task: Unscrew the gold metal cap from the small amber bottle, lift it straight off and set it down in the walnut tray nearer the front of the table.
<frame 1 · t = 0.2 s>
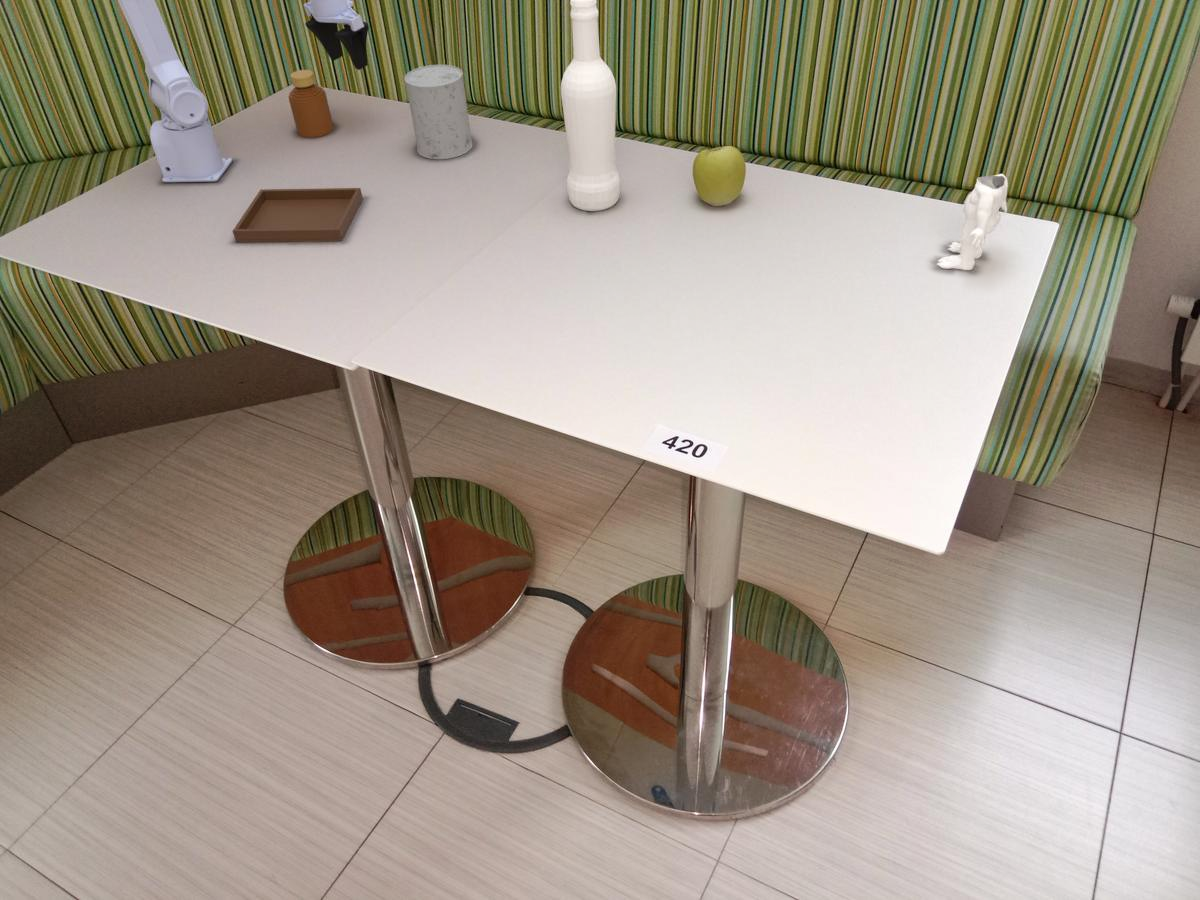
hand: (349, 62, 169), 10 cm above the table, tool pointing down, fingers open, 7 cm apart
tray: (301, 220, 149), on the table
toy creature: (964, 262, 132), on the table
bottle: (594, 201, 150), on the table
cap: (302, 76, 168), point 10 cm above the table, screwed on, not yet turned
gray speckled cylinder: (445, 148, 166), on the table
apple: (717, 200, 148), on the table
amber bottle: (315, 130, 174), on the table
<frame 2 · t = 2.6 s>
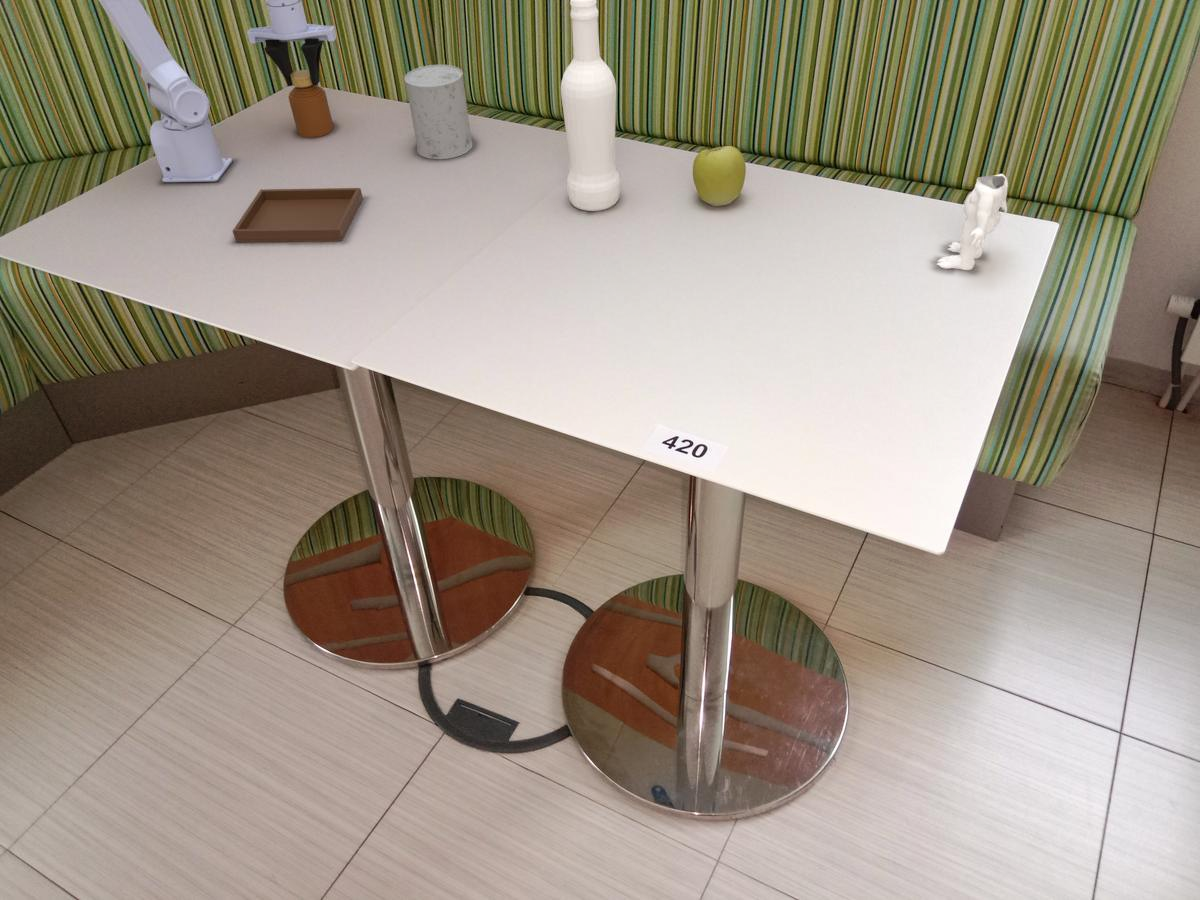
hand: (304, 83, 168), 8 cm above the table, tool pointing down, fingers closed on cap, 4 cm apart
cap: (302, 76, 168), point 10 cm above the table, screwed on, not yet turned, touching gripper
everything else where it was.
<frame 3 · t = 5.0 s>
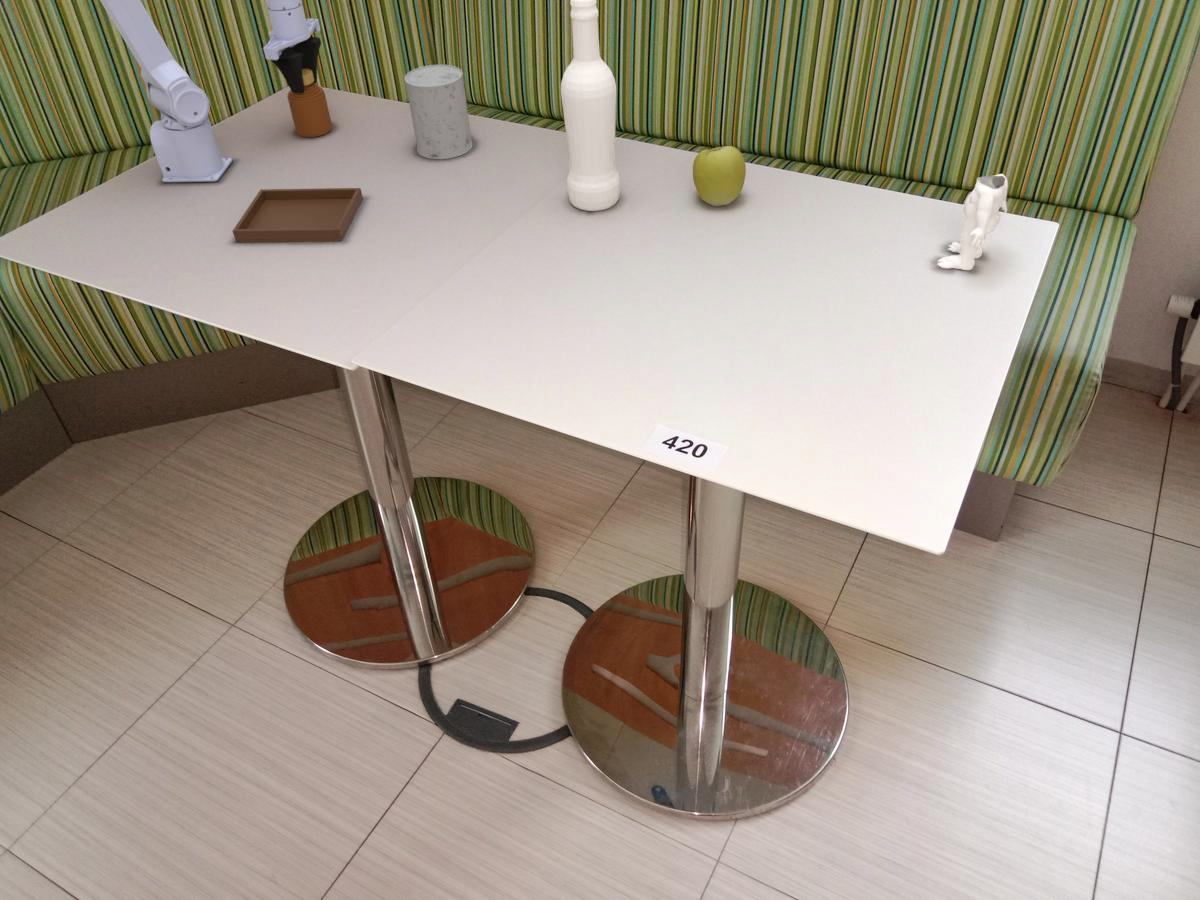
hand: (304, 87, 169), 8 cm above the table, tool pointing down, fingers closed on cap, 4 cm apart
cap: (301, 74, 167), point 10 cm above the table, turned 74° so far, risen 0.1 cm, still on its thread, touching gripper
amber bottle: (314, 129, 174), on the table
everything else where it was.
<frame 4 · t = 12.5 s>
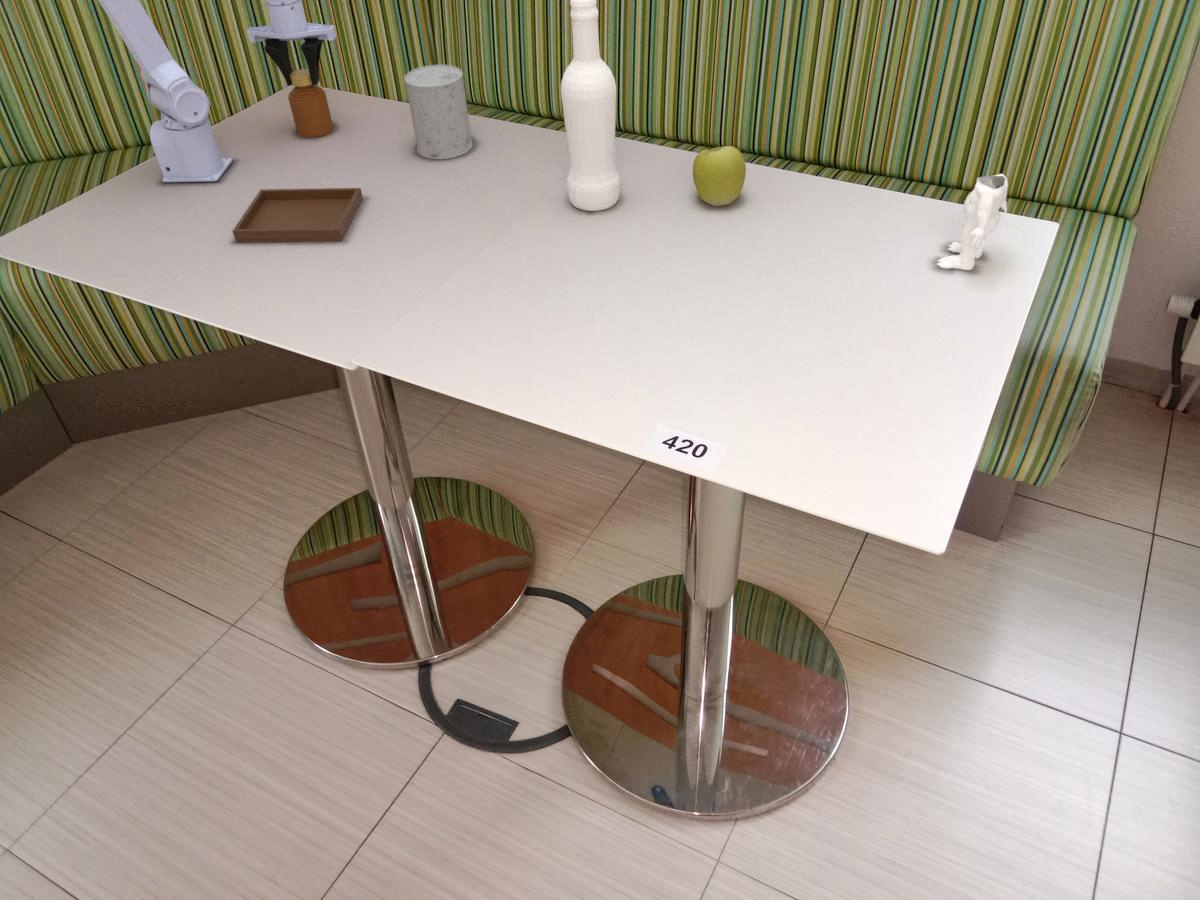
hand: (304, 82, 168), 9 cm above the table, tool pointing down, fingers closed on cap, 4 cm apart
cap: (301, 75, 167), point 10 cm above the table, turned 147° so far, risen 0.1 cm, still on its thread, touching gripper
amber bottle: (315, 130, 174), on the table
everything else where it was.
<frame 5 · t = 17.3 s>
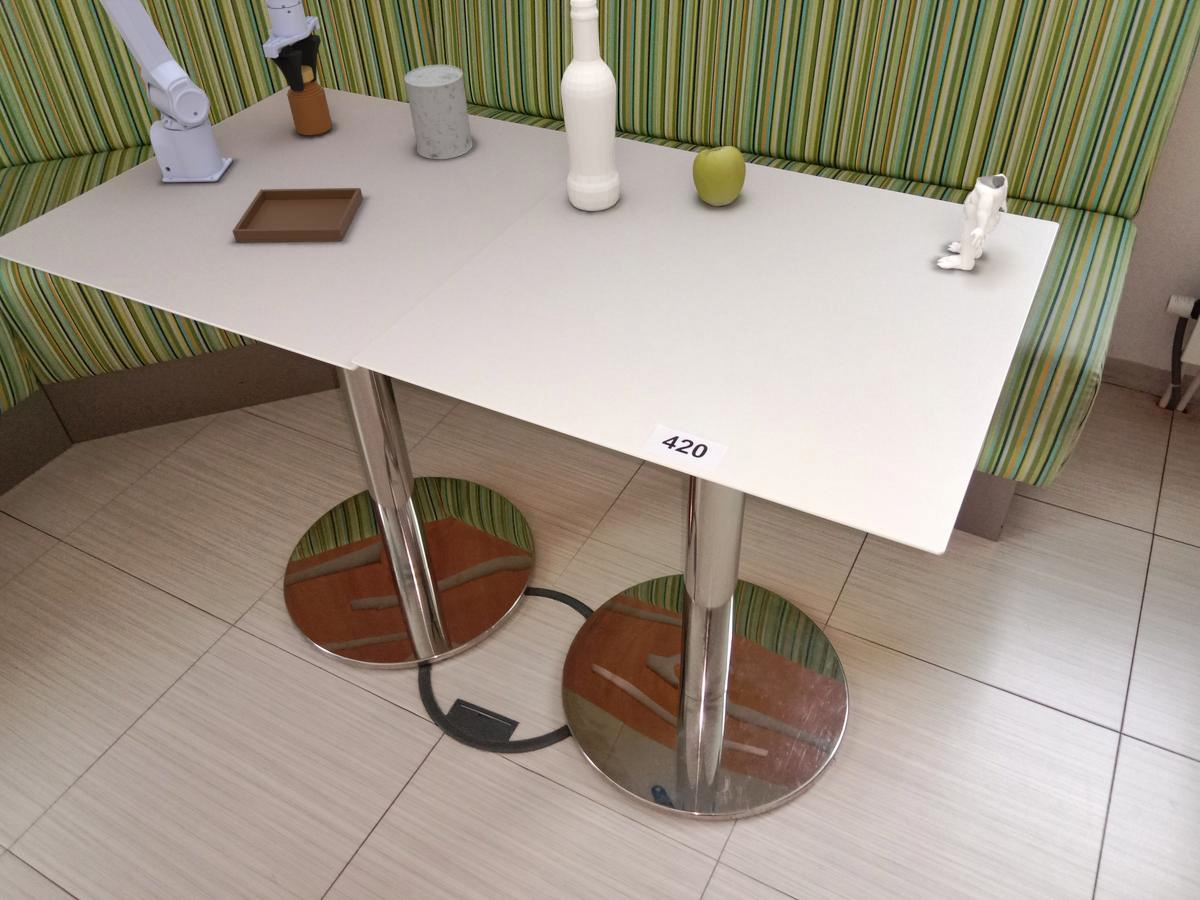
hand: (304, 85, 169), 8 cm above the table, tool pointing down, fingers closed on cap, 4 cm apart
cap: (300, 72, 167), point 10 cm above the table, turned 222° so far, risen 0.2 cm, still on its thread, touching gripper
amber bottle: (314, 127, 174), on the table
everything else where it was.
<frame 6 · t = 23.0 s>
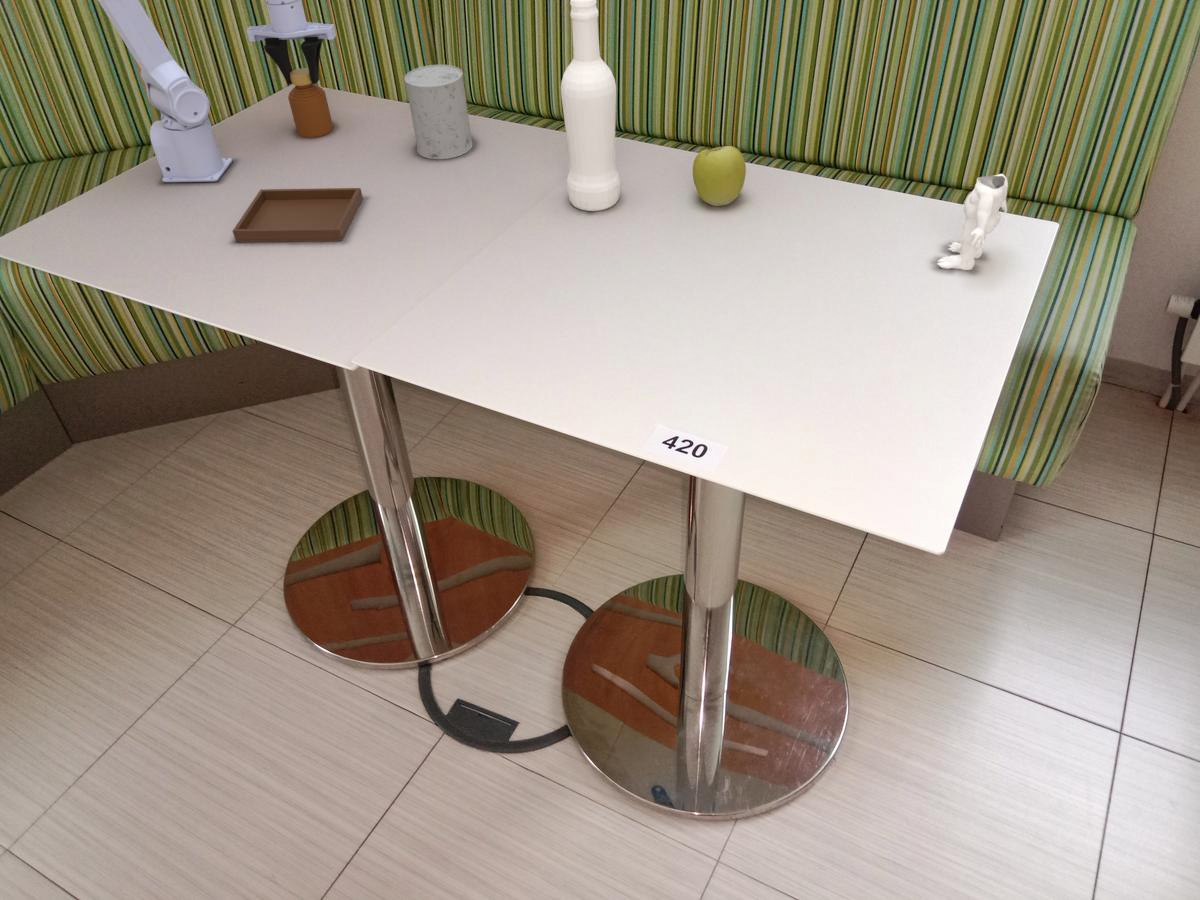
hand: (303, 81, 168), 9 cm above the table, tool pointing down, fingers closed on cap, 4 cm apart
cap: (301, 74, 167), point 10 cm above the table, turned 297° so far, risen 0.3 cm, still on its thread, touching gripper
amber bottle: (315, 130, 174), on the table
everything else where it was.
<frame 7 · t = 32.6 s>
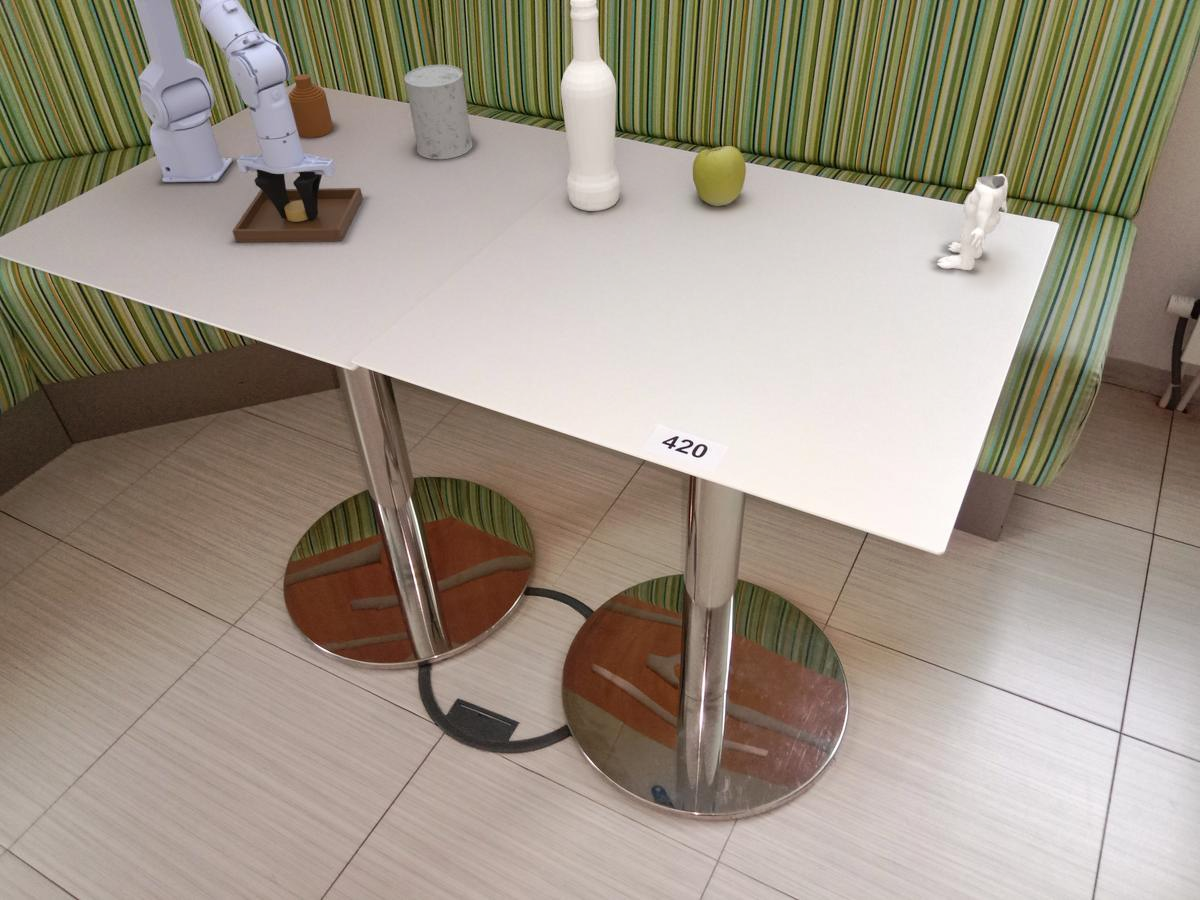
hand: (300, 216, 149), 1 cm above the table, tool pointing down, fingers closed on cap, 4 cm apart
cap: (297, 208, 148), point 2 cm above the table, off its thread, touching gripper
everything else where it was.
when the fingers open (2 cm above the table, at t = 39.8 s): cap drops 2 cm, resting on tray.
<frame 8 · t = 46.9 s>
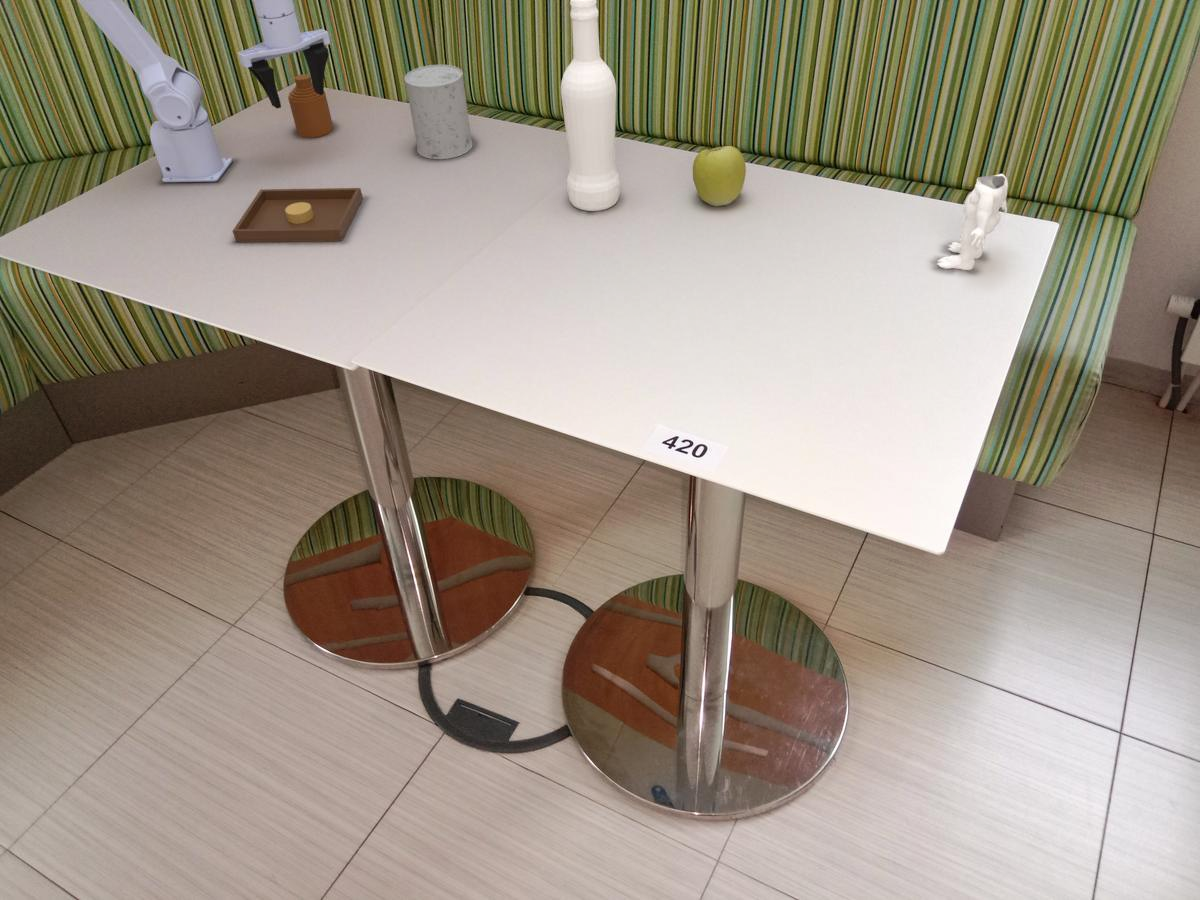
hand: (298, 99, 158), 10 cm above the table, tool pointing down, fingers open, 7 cm apart
cap: (298, 210, 148), point 2 cm above the table, off its thread, touching tray
everything else where it was.
at the end: cap inside the target area in the tray (0.0 cm from its centre), point 1.6 cm above the tray's base; the gripper is holding nothing; amber bottle tilted 0° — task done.
